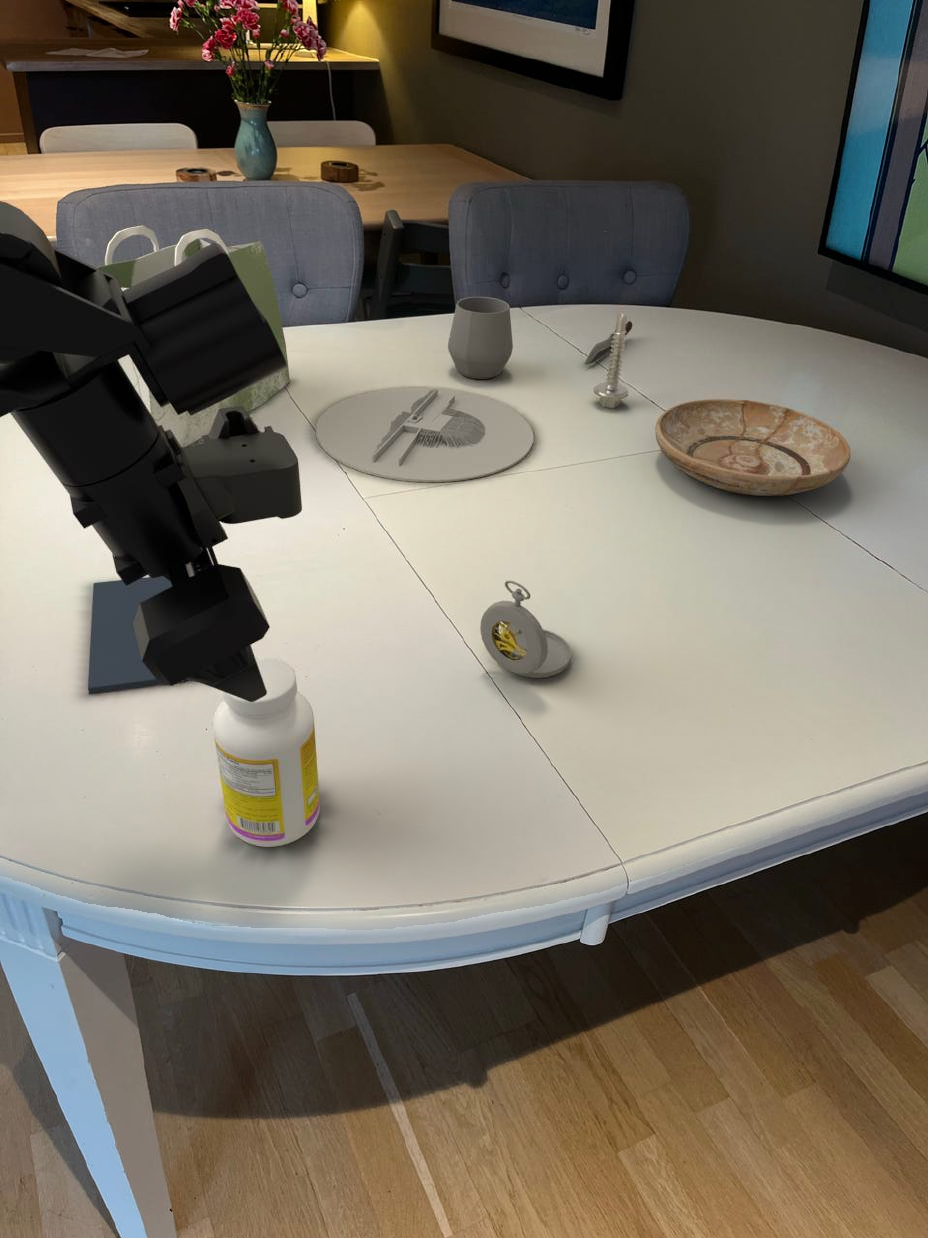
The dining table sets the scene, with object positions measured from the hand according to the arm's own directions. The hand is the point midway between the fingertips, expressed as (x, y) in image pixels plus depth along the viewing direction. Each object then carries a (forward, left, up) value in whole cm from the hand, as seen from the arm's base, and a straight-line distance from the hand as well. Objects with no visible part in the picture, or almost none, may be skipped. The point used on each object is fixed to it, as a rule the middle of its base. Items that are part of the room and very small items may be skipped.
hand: (242, 652), depth 60 cm
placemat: (-4, +26, -15) cm, 30 cm away
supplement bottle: (+1, 0, -15) cm, 15 cm away
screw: (+63, +59, -15) cm, 88 cm away
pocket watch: (+26, +10, -15) cm, 32 cm away
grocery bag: (+7, +72, -15) cm, 74 cm away
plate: (+35, +58, -15) cm, 69 cm away
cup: (+50, +75, -15) cm, 91 cm away
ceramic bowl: (+69, +36, -15) cm, 79 cm away
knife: (+73, +77, -15) cm, 107 cm away
